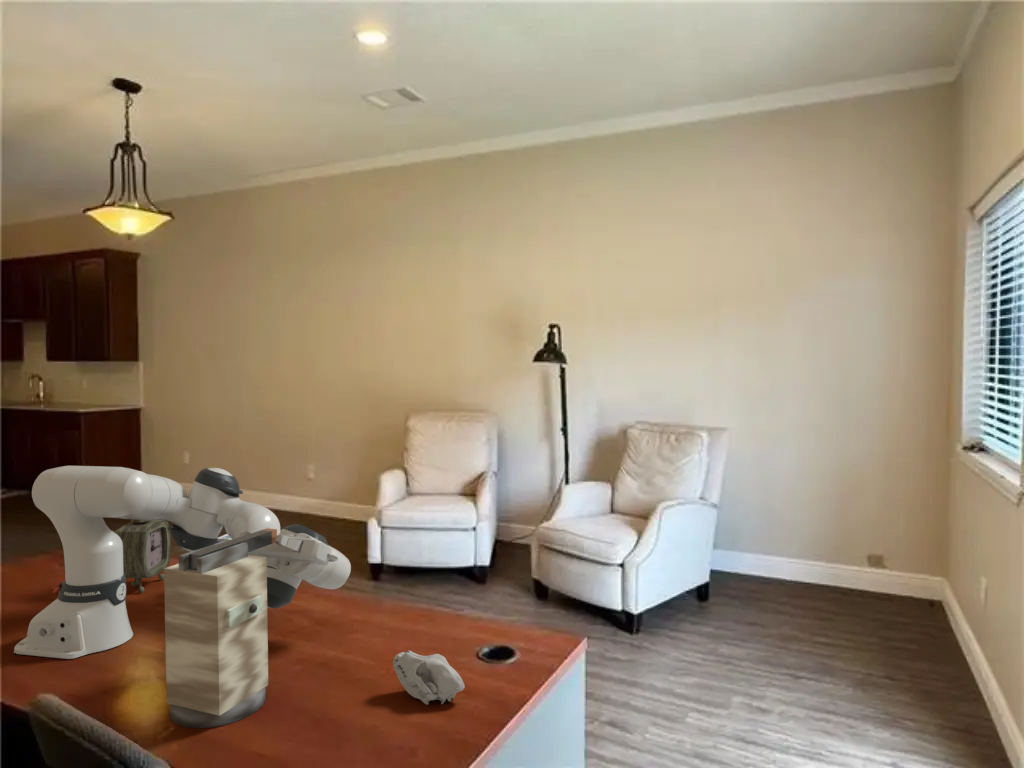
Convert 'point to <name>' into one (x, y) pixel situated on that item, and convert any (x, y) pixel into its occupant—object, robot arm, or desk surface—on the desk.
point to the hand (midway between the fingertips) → (260, 536)
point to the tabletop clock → (145, 549)
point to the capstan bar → (253, 540)
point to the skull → (427, 676)
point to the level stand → (216, 637)
